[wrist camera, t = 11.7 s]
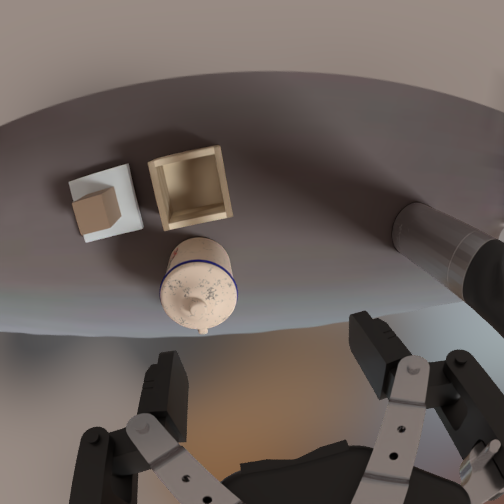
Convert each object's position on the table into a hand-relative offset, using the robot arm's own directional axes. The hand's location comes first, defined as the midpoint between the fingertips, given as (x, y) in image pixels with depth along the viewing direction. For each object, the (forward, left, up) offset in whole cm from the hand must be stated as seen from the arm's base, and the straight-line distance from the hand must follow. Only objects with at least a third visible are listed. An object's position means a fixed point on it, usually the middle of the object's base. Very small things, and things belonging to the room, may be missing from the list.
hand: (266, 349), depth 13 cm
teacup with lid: (+5, +9, -29) cm, 31 cm away
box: (+4, -4, -28) cm, 29 cm away
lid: (+15, -4, -28) cm, 32 cm away
